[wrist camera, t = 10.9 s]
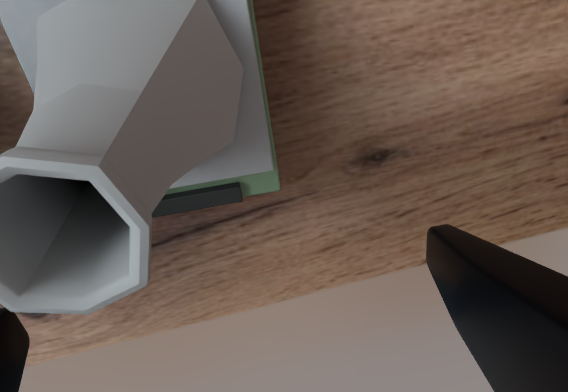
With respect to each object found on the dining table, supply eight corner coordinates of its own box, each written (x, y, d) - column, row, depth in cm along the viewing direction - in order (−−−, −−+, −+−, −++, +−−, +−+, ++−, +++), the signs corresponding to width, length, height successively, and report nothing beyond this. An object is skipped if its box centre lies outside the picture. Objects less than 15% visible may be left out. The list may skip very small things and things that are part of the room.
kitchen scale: (275, 168, 21) (283, 197, 18) (106, 197, 21) (90, 232, 18) (230, -126, 15) (231, -143, 12) (-13, -92, 14) (-64, -103, 12)
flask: (259, 154, 17) (297, 349, 9) (85, 185, 17) (-55, 421, 8) (223, -45, 13) (227, -49, 5) (-1, -10, 13) (-417, 52, 5)
